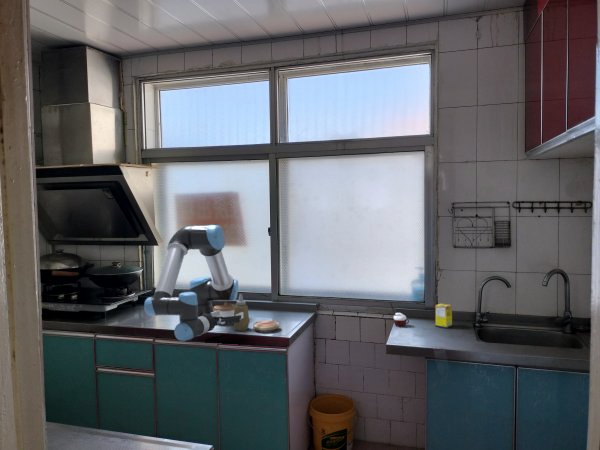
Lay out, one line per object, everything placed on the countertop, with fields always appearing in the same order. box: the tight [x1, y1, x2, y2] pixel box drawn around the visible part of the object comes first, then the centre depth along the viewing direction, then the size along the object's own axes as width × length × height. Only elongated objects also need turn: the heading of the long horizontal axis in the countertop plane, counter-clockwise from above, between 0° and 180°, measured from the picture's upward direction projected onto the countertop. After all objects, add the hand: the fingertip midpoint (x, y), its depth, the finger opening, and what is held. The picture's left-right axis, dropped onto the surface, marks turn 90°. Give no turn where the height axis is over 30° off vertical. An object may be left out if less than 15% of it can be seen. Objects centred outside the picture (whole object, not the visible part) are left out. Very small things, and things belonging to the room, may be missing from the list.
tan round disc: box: [252, 320, 280, 333], centre depth 227 cm, size 13×13×3 cm
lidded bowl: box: [213, 301, 236, 325], centre depth 242 cm, size 13×13×11 cm
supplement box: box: [434, 303, 453, 329], centre depth 227 cm, size 6×6×11 cm
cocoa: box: [389, 302, 410, 328], centre depth 230 cm, size 10×6×12 cm, turn 68°
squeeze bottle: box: [233, 293, 250, 332], centre depth 228 cm, size 8×8×18 cm
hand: (230, 313), depth 220 cm, fingers open, 13 cm apart
